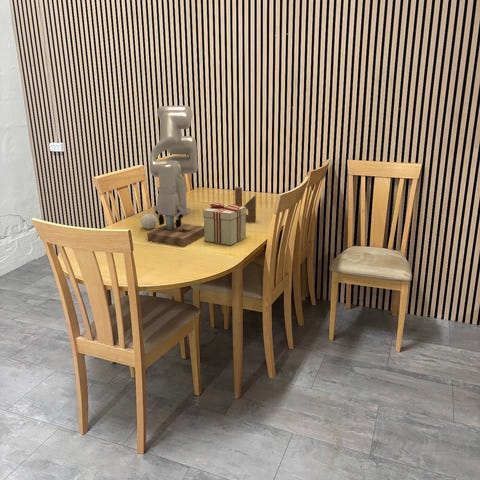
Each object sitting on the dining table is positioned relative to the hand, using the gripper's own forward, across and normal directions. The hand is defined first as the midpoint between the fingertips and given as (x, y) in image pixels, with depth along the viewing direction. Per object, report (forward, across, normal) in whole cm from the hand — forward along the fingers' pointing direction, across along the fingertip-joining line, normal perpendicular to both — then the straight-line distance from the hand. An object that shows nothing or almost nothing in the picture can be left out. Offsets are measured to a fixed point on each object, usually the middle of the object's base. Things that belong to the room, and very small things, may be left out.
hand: (170, 225), depth 230 cm
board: (+5, +4, 0) cm, 7 cm away
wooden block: (+6, +21, +38) cm, 44 cm away
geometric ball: (+6, -18, +7) cm, 20 cm away
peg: (+5, 0, 0) cm, 5 cm away
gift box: (+6, +25, +9) cm, 27 cm away
